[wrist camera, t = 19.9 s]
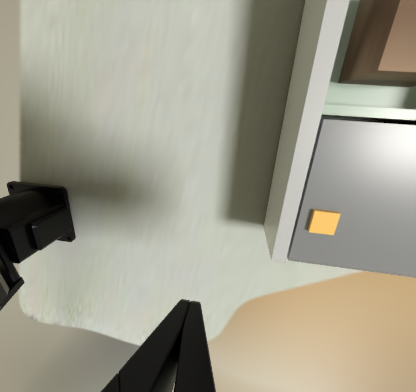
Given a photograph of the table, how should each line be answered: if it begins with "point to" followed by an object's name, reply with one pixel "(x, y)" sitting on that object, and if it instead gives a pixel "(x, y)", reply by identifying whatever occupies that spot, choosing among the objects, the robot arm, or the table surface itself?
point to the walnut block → (382, 45)
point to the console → (359, 199)
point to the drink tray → (320, 109)
